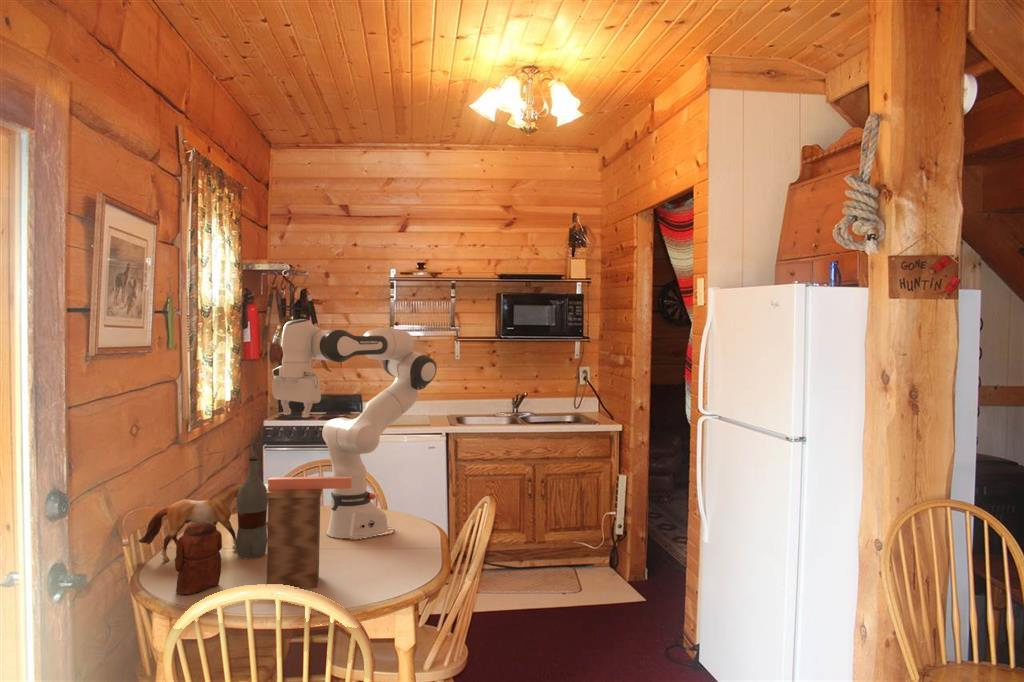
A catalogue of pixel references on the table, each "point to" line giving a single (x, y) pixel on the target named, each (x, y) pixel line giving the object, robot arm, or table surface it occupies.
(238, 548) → the bottle
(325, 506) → the table surface
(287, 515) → the stand
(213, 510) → the horse figurine
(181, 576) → the wooden figurine
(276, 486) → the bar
